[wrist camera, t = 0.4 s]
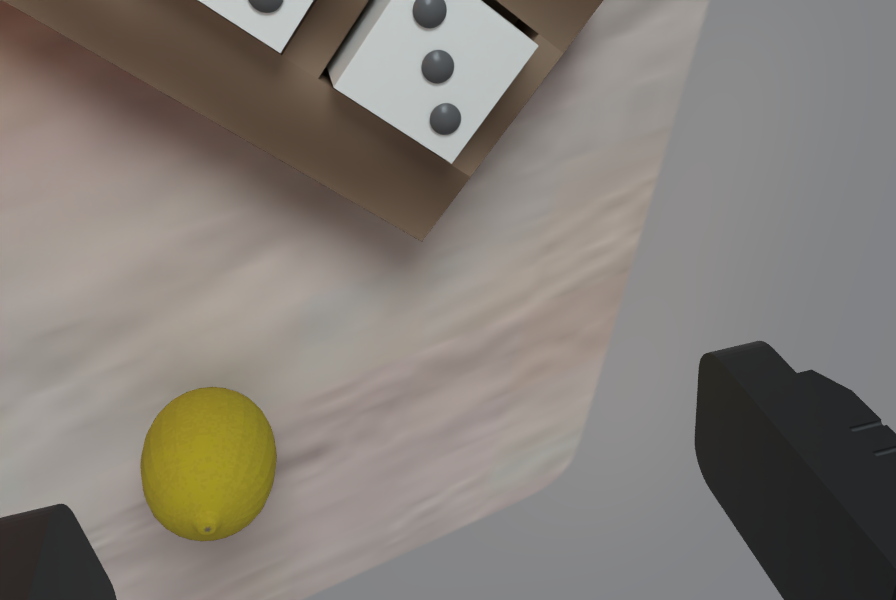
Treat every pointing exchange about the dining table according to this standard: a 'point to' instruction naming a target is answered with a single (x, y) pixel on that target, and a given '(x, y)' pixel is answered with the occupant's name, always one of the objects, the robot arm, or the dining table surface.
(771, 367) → the robot arm
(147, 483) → the lemon
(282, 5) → the button two
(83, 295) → the dining table surface
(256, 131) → the button panel
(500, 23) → the button three
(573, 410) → the dining table surface
